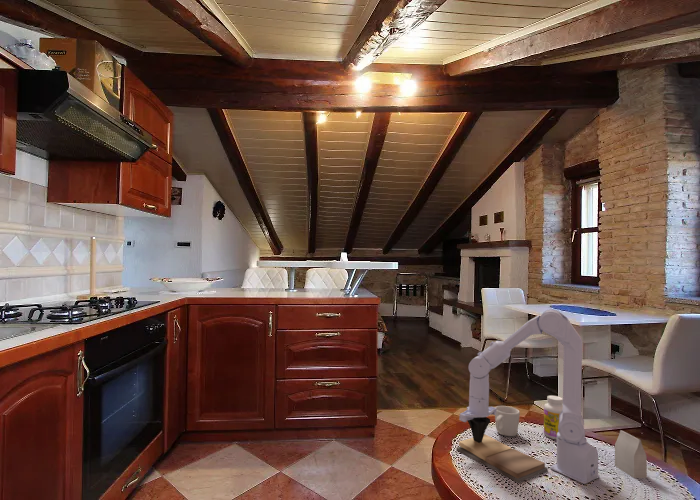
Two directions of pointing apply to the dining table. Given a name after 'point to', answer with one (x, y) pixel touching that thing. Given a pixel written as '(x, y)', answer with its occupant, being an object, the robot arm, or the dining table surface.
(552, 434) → the supplement bottle
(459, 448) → the floor board
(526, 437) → the dining table surface
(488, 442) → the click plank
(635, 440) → the beige gabled carton
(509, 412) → the cup
